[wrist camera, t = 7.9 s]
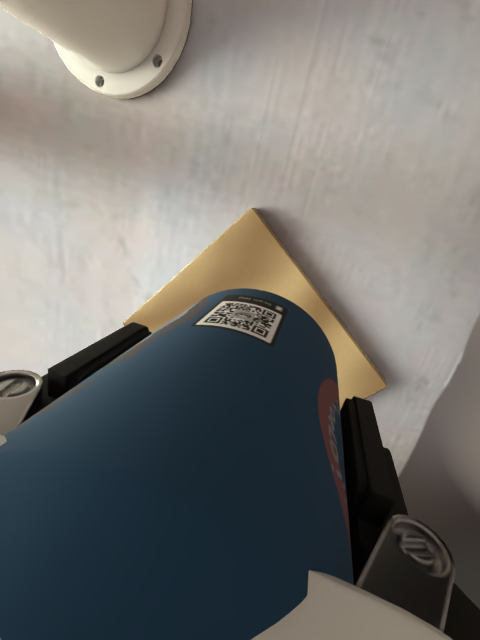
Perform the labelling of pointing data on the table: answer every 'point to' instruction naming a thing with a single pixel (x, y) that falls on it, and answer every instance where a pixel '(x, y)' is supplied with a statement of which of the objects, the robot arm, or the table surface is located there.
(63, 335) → the table surface
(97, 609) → the soda can
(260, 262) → the breadboard
